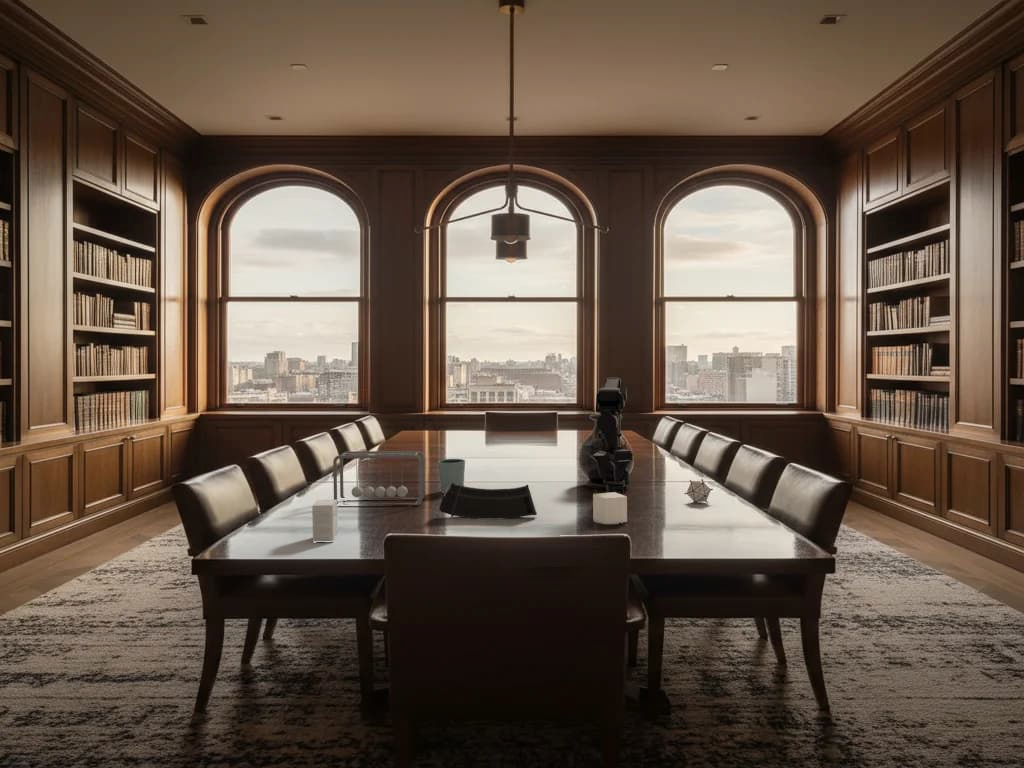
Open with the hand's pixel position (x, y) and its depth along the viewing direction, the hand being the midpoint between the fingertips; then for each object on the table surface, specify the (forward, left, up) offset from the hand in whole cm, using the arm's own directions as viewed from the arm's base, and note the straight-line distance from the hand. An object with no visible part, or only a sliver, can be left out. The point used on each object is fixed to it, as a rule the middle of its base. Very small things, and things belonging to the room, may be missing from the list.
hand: (609, 480), depth 215 cm
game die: (-11, +41, -13) cm, 44 cm away
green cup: (-63, -32, -13) cm, 72 cm away
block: (0, 0, -12) cm, 13 cm away
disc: (0, 0, -12) cm, 12 cm away
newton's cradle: (-54, -61, -13) cm, 82 cm away
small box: (-11, -84, -13) cm, 86 cm away
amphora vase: (-51, +27, -13) cm, 59 cm away
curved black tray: (-19, -33, -13) cm, 40 cm away
